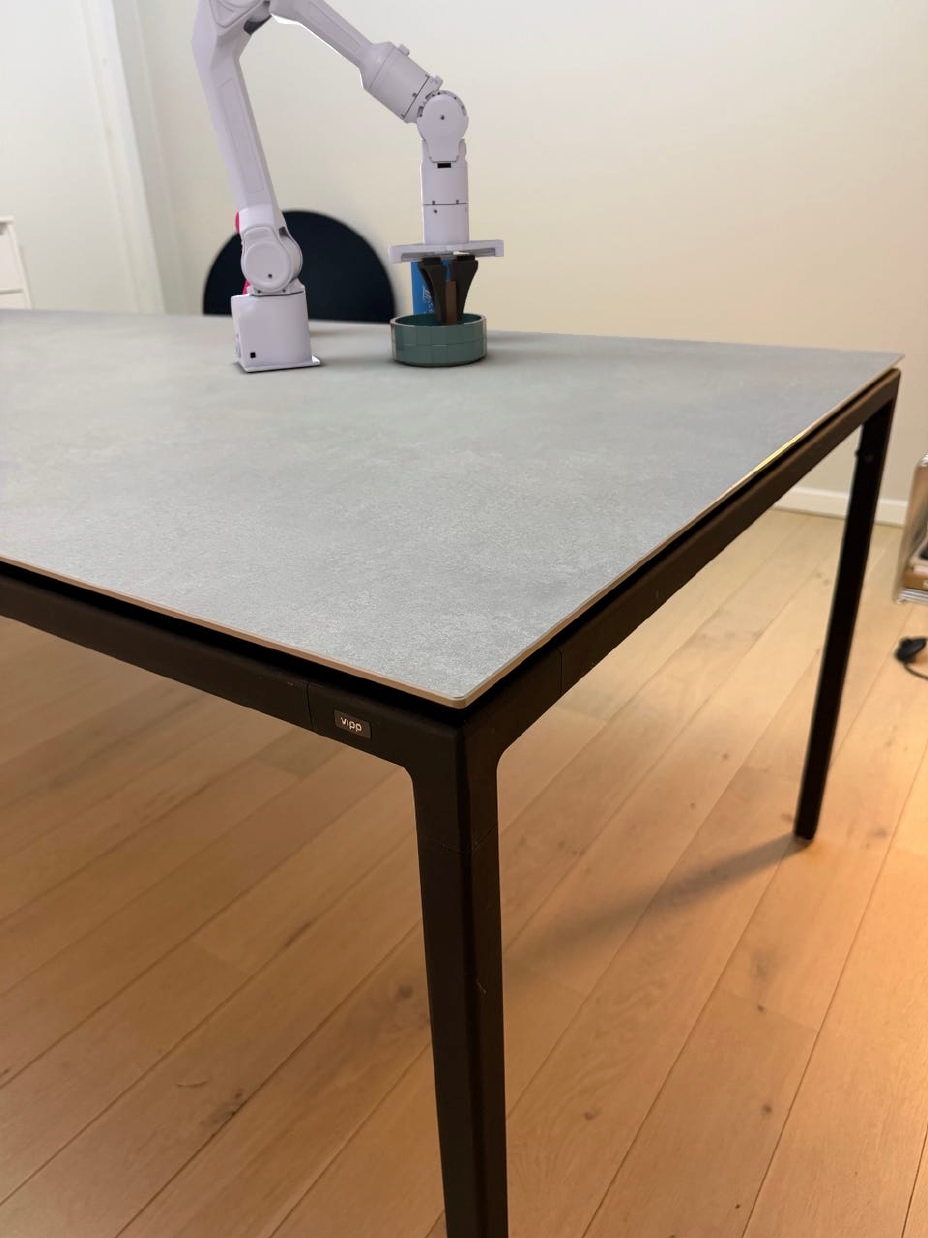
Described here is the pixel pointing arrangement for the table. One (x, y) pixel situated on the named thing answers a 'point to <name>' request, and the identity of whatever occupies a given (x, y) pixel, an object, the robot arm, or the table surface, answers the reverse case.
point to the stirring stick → (451, 303)
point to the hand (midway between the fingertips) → (449, 320)
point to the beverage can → (424, 287)
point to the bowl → (438, 340)
